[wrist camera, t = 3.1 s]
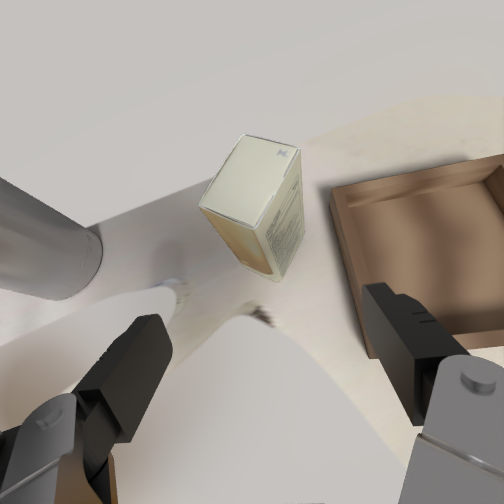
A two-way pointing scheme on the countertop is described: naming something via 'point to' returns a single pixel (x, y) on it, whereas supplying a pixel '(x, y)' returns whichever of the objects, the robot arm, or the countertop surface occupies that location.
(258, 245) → the skincare box
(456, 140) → the countertop surface
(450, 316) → the walnut tray
